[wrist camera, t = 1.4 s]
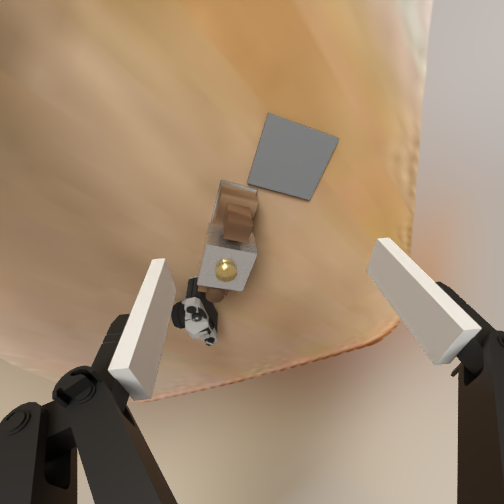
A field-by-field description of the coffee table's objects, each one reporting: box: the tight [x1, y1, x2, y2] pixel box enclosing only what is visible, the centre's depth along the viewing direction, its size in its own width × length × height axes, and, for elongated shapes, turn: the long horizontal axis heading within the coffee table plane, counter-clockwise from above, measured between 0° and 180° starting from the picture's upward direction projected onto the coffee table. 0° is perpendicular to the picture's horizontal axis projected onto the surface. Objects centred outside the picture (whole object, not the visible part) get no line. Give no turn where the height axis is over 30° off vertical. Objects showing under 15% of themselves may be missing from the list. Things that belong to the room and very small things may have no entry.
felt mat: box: [247, 113, 339, 200], centre depth 32 cm, size 10×9×1 cm
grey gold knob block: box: [197, 224, 258, 291], centre depth 32 cm, size 6×7×6 cm
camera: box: [171, 276, 218, 346], centre depth 44 cm, size 13×8×9 cm, turn 13°
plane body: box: [198, 180, 258, 303], centre depth 35 cm, size 19×5×10 cm, turn 163°
